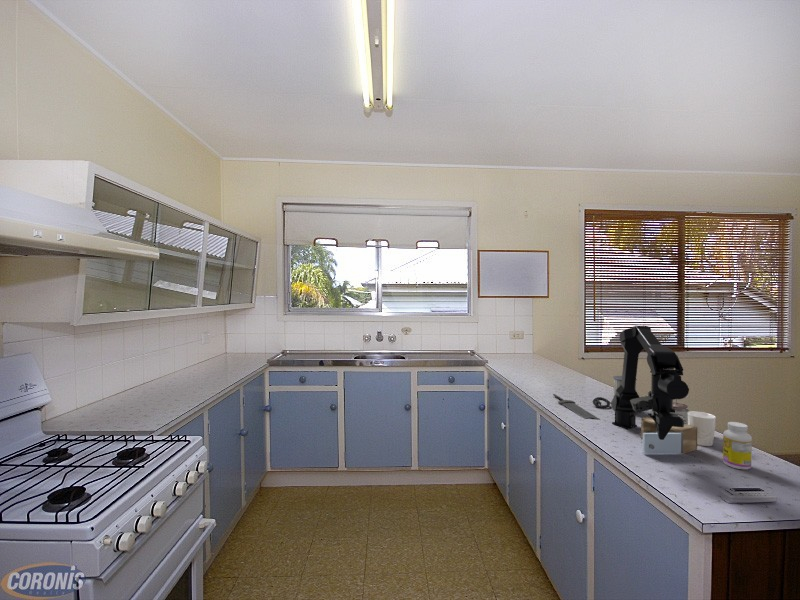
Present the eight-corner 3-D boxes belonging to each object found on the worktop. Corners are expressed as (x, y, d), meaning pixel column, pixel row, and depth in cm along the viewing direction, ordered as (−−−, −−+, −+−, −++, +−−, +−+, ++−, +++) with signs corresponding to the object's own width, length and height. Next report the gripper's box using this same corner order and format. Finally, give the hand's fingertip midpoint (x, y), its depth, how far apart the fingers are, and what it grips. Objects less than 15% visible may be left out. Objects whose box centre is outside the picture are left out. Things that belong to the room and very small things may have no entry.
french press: (697, 435, 144) (698, 368, 143) (662, 432, 146) (663, 367, 145) (683, 426, 153) (684, 363, 153) (651, 424, 156) (652, 362, 155)
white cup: (703, 448, 132) (704, 419, 132) (681, 439, 140) (681, 412, 139) (720, 445, 134) (721, 417, 134) (698, 437, 142) (698, 410, 141)
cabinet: (641, 439, 140) (641, 418, 140) (655, 435, 143) (655, 415, 143) (682, 453, 127) (683, 431, 127) (697, 449, 131) (697, 427, 130)
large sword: (585, 422, 161) (585, 417, 161) (546, 396, 196) (546, 392, 196) (601, 421, 162) (601, 416, 161) (560, 396, 196) (560, 392, 196)
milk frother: (641, 414, 168) (641, 380, 168) (604, 413, 169) (604, 380, 168) (623, 404, 182) (623, 373, 182) (589, 404, 183) (589, 373, 182)
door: (646, 455, 126) (646, 433, 125) (642, 452, 128) (642, 431, 127) (685, 455, 125) (686, 433, 125) (681, 452, 127) (681, 431, 127)
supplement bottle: (722, 458, 124) (723, 419, 123) (750, 464, 119) (751, 423, 119) (722, 466, 118) (723, 424, 118) (752, 472, 114) (752, 429, 114)
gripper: (625, 381, 133) (625, 426, 133) (641, 396, 115) (640, 447, 116) (663, 384, 129) (662, 430, 130) (685, 399, 112) (684, 452, 112)
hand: (661, 439), depth 122 cm, fingers closed
